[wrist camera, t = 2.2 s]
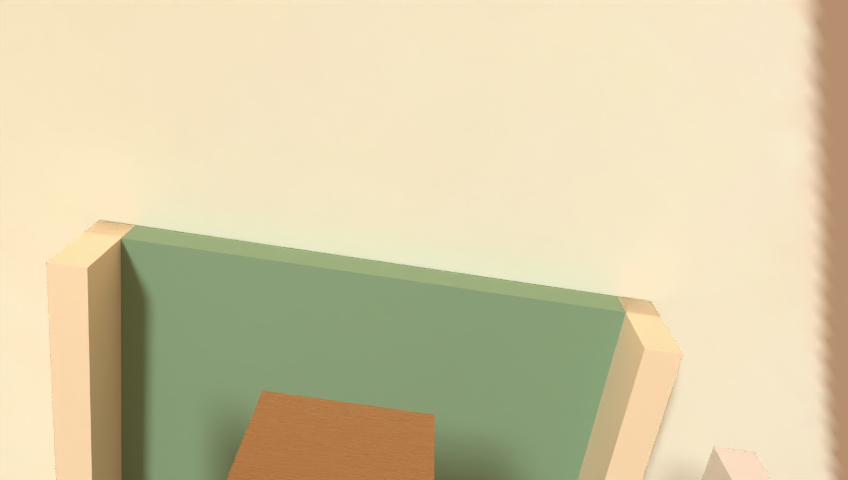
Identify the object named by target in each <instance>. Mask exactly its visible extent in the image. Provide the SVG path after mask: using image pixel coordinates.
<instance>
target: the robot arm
mask: <svg viewBox="0 0 848 480" xmlns="http://www.w3.org/2000/svg"><path fill="white" fill-rule="evenodd" d="M702 480H772V479H771V478H770V476H769V474H768V473H767V471H766V469H765V468H764V466H763V465H762V463H761V461H760V460H759V458H758V457H757V455H756V453H754V452H747V451H740V450H733V449H725V448H718V447H714V448H713V450H712V453H711V456H710V458H709V461H708V464H707V466H706V469H705V472H704V474H703V477H702Z"/></svg>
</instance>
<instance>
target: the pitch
mask: <svg viewBox="0 0 848 480" xmlns="http://www.w3.org/2000/svg"><path fill="white" fill-rule="evenodd" d="M46 268H47V291H48V313H49V335H50V358H51V380H52V403H53V425H54V448H55V470H56V480H226V479H227V477H228V474H229V472H230V469H231V467H232V464H233V462H234V459H235V457H236V455H237V452H238V450H239V447H240V445H241V442H242V440H243V437H244V435H245V432H246V430H247V427H248V425H249V423H250V420H251V418H252V415H253V413H254V410H255V408H256V405H257V403H258V400H259V398H260V395H261V393H262V391H270V392H277V393H284V394H291V395H298V396H305V397H312V398H320V399H327V400H334V401H341V402H348V403H355V404H362V405H370V406H377V407H384V408H391V409H398V410H405V411H412V412H420V413H427V414H434V415H435V443H434V480H642V479H643V476H644V473H645V470H646V467H647V464H648V461H649V458H650V455H651V452H652V449H653V446H654V443H655V439H656V436H657V433H658V430H659V427H660V424H661V421H662V418H663V415H664V412H665V409H666V406H667V403H668V400H669V397H670V394H671V391H672V388H673V385H674V382H675V379H676V375H677V372H678V369H679V366H680V363H681V360H682V357H683V353H682V351H681V350H680V348H679V346H678V345H677V343H676V341H675V340H674V338H673V337H672V335H671V333H670V332H669V330H668V328H667V327H666V325H665V324H664V322H663V320H662V319H661V317H660V315H659V314H658V312H657V311H656V309H655V307H654V306H653V304H652V302H651V301H644V300H637V299H631V298H624V297H617V296H610V295H603V294H597V293H590V292H583V291H576V290H570V289H563V288H556V287H549V286H543V285H536V284H529V283H522V282H515V281H509V280H502V279H495V278H488V277H482V276H475V275H468V274H461V273H455V272H448V271H441V270H434V269H427V268H421V267H414V266H407V265H400V264H394V263H387V262H380V261H373V260H367V259H360V258H353V257H346V256H339V255H333V254H326V253H319V252H312V251H306V250H299V249H292V248H285V247H279V246H272V245H265V244H258V243H251V242H245V241H238V240H231V239H224V238H218V237H211V236H204V235H197V234H191V233H184V232H177V231H170V230H163V229H157V228H150V227H143V226H136V225H130V224H123V223H116V222H109V221H103V220H99V221H98V222H97V223H96V224H94V225H93V226H92V227H90V228H89V229H88V230H87V231H85V232H84V233H83V234H81V235H80V236H79V237H78V238H76V239H75V240H74V241H72V242H71V243H70V244H69V245H67V246H66V247H65V248H63V249H62V250H61V251H60V252H58V253H57V254H56V255H54V256H53V257H52V258H51V259H49V260H48V261H47V262H46Z"/></svg>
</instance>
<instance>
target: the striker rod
mask: <svg viewBox="0 0 848 480" xmlns="http://www.w3.org/2000/svg"><path fill="white" fill-rule="evenodd" d="M434 443H435V415H434V414H427V413H420V412H412V411H405V410H398V409H391V408H384V407H377V406H370V405H362V404H355V403H348V402H341V401H334V400H327V399H320V398H312V397H305V396H298V395H291V394H284V393H277V392H270V391H262V393H261V395H260V398H259V400H258V403H257V405H256V408H255V410H254V413H253V415H252V418H251V420H250V423H249V425H248V427H247V430H246V432H245V435H244V437H243V440H242V442H241V445H240V447H239V450H238V452H237V455H236V457H235V459H234V462H233V464H232V467H231V469H230V472H229V474H228V477H227V479H226V480H434Z"/></svg>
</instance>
